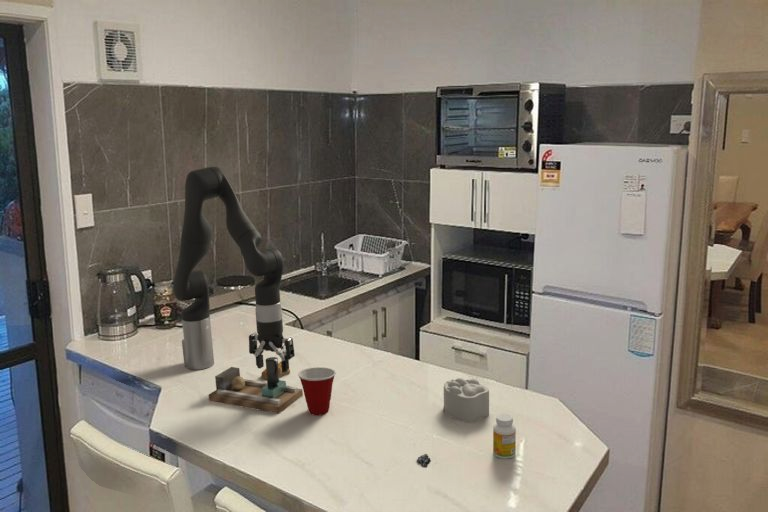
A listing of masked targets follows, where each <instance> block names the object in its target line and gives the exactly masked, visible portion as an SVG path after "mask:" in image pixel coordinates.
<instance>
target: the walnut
mask: <svg viewBox="0 0 768 512" xmlns="http://www.w3.org/2000/svg"><path fill="white" fill-rule="evenodd" d="M244 379H245V378H244V377H243V376H241V375H240V376H237V377H235V378H234V379H233V380H232V386H233V388H234V389H237V390H239V389H242V388H243V387H244V385H245V380H244Z"/></svg>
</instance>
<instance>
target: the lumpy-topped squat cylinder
mask: <svg viewBox="0 0 768 512" xmlns="http://www.w3.org/2000/svg"><path fill="white" fill-rule="evenodd" d="M443 410H444V413H445V414H446V416H447V415H448V417H451V418H452V419H454V420H457V421H460V422H463V423H476V422H477V421H480V419H485V418H486V417H488V416H489V415H490V389H489V387H487V386H485V385H483V384H481V383H480V382H479V380H477V379H476V378H470V379H465V378H462V377H458V378H456V379H450V380H447V381H445V383H444V385H443Z"/></svg>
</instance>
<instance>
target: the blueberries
mask: <svg viewBox="0 0 768 512" xmlns="http://www.w3.org/2000/svg"><path fill="white" fill-rule="evenodd" d="M431 461H432V460H431V458H430V457H429V455H428V454H427V453H423V454H422V455H421V454H420V456H418V457H417V458H416V462H417V463H418V465H420V467H424V468H427V467H428V465H429V464H430V463H431ZM435 465H436V463H435Z"/></svg>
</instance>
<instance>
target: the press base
mask: <svg viewBox="0 0 768 512" xmlns="http://www.w3.org/2000/svg"><path fill="white" fill-rule="evenodd" d="M240 372H241V371H240V368H239V367H235V366H231V367H228V368H227V369H225V370H223V371H222V372H220V373H219V374H216V375H215V377H214V379H215V380H214V381H215V388H216V389H215V390H214V391H212V392H211V393H209V394H208V401H209V402H215V403H220V404H225V405H230V406H237V407H241V406H242V408H246V407H247V408H246V409H252V408H253V410H257V409H258V410H257V411H264V412H267V413H269V412H270V413H274V414H281V413H282V412H283V411H284V410H286V409H288V407H290V406H291V405H293V403H295V402H296V401H297V400H299V399H300V398H302V397H303V396H304V391H303V388H298V387H296V386H290V385H286V391H285V392H284V393H282V394H281V395H279V396H278V397H277V398H275V399H274V398H268V397H263V396H262V392H261V388H263V387H264V386H266V385H267V381H265V382H264V381H259V380H254V379H253V380H252V379H248V378H247V379H246V378H243V379H244V380H245V385H244V387H243V388H242V389H239V390H237V389H234V388H233V386H232V380H233V379H234V378H235V377H237V376H240V377H241V373H240Z"/></svg>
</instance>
